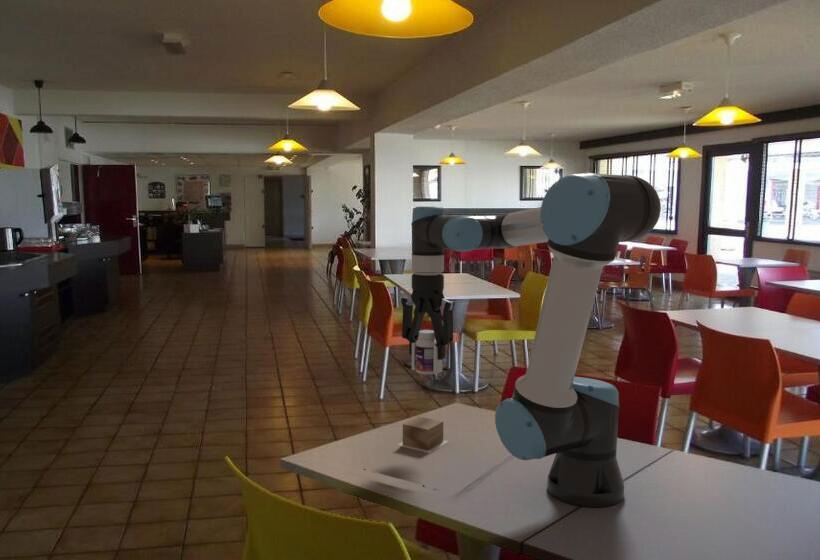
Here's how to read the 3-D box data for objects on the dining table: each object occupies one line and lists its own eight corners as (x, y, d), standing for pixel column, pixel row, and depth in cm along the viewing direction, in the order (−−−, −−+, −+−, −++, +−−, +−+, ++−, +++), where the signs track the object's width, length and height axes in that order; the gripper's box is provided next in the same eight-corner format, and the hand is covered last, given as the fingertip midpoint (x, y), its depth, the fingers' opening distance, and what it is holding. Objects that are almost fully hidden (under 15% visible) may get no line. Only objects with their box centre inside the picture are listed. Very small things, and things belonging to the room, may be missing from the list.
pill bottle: (412, 369, 160) (413, 329, 159) (434, 368, 162) (434, 328, 161) (419, 375, 155) (419, 334, 154) (441, 374, 157) (441, 333, 155)
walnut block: (443, 441, 161) (443, 421, 160) (428, 450, 155) (428, 429, 154) (418, 436, 164) (418, 416, 164) (402, 444, 158) (402, 424, 158)
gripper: (470, 274, 154) (468, 373, 156) (404, 269, 164) (403, 362, 167) (453, 277, 147) (452, 380, 150) (386, 271, 158) (386, 368, 160)
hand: (426, 370), depth 158 cm, fingers closed on pill bottle, 5 cm apart
